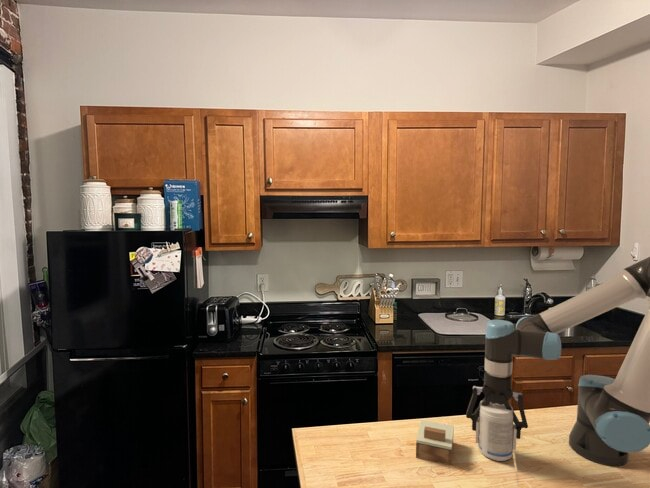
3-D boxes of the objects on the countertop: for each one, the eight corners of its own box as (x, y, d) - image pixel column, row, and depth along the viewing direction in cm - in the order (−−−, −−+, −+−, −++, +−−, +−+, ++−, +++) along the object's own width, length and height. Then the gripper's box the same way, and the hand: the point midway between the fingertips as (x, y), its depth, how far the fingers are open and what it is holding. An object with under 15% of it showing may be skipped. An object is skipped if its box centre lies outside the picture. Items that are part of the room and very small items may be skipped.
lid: (453, 428, 124) (453, 418, 124) (451, 449, 113) (451, 438, 112) (421, 422, 127) (421, 412, 127) (416, 442, 116) (416, 431, 116)
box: (453, 444, 124) (453, 429, 124) (451, 468, 113) (451, 450, 113) (420, 438, 128) (421, 423, 127) (415, 460, 117) (416, 443, 116)
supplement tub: (518, 455, 118) (520, 408, 116) (500, 466, 112) (502, 417, 111) (489, 439, 126) (491, 395, 124) (471, 449, 120) (472, 403, 119)
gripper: (538, 373, 117) (534, 444, 118) (459, 362, 124) (456, 430, 126) (542, 383, 110) (538, 459, 111) (458, 371, 117) (455, 443, 119)
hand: (495, 444), depth 119 cm, fingers closed on supplement tub, 10 cm apart
